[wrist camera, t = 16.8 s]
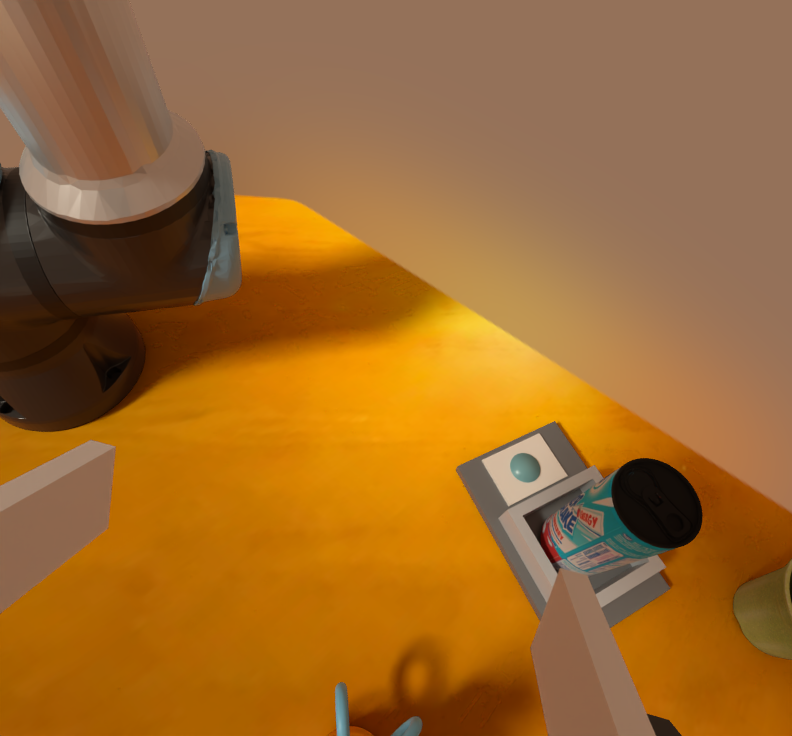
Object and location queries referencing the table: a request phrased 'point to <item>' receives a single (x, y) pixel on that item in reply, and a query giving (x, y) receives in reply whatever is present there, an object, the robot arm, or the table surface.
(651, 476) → the beverage can
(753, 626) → the plant pot
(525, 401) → the table surface
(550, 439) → the can holder
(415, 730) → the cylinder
